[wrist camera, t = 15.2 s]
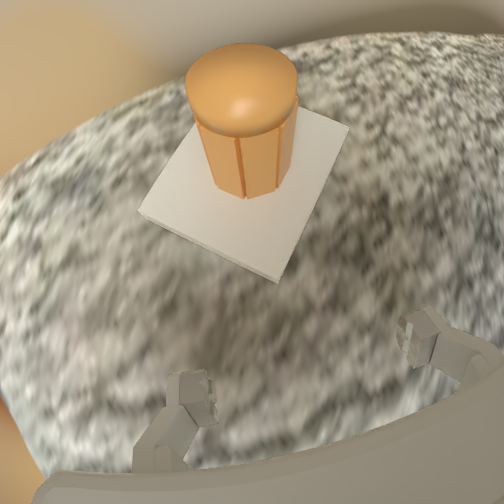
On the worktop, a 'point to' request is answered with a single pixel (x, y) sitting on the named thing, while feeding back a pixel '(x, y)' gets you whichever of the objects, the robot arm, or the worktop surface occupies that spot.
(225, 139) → the fluted domed cylinder
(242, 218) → the board
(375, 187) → the worktop surface
